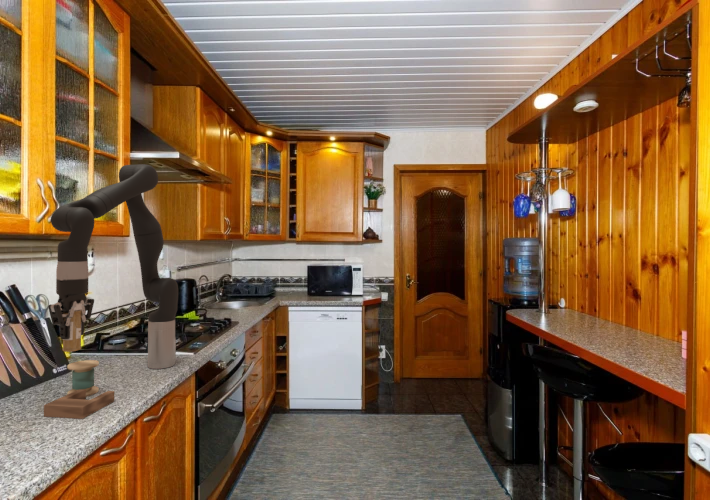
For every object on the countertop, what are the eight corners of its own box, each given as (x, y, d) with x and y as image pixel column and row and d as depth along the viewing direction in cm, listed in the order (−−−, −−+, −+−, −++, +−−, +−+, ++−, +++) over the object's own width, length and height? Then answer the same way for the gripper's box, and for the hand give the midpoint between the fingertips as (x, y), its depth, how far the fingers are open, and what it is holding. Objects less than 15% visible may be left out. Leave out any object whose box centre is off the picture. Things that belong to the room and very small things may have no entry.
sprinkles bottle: (84, 349, 116) (85, 302, 117) (66, 352, 112) (67, 304, 113) (76, 347, 119) (77, 301, 119) (58, 350, 115) (59, 303, 115)
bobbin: (81, 387, 129) (81, 359, 128) (104, 389, 128) (104, 360, 128) (60, 397, 121) (60, 366, 121) (85, 398, 120) (85, 368, 120)
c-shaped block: (79, 399, 119) (79, 389, 119) (114, 401, 118) (114, 391, 118) (43, 416, 107) (43, 405, 107) (82, 418, 106) (82, 407, 106)
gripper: (80, 275, 123) (80, 331, 123) (38, 279, 109) (38, 342, 109) (103, 275, 122) (102, 332, 122) (63, 279, 108) (63, 343, 108)
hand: (72, 336), depth 116 cm, fingers closed on sprinkles bottle, 4 cm apart
